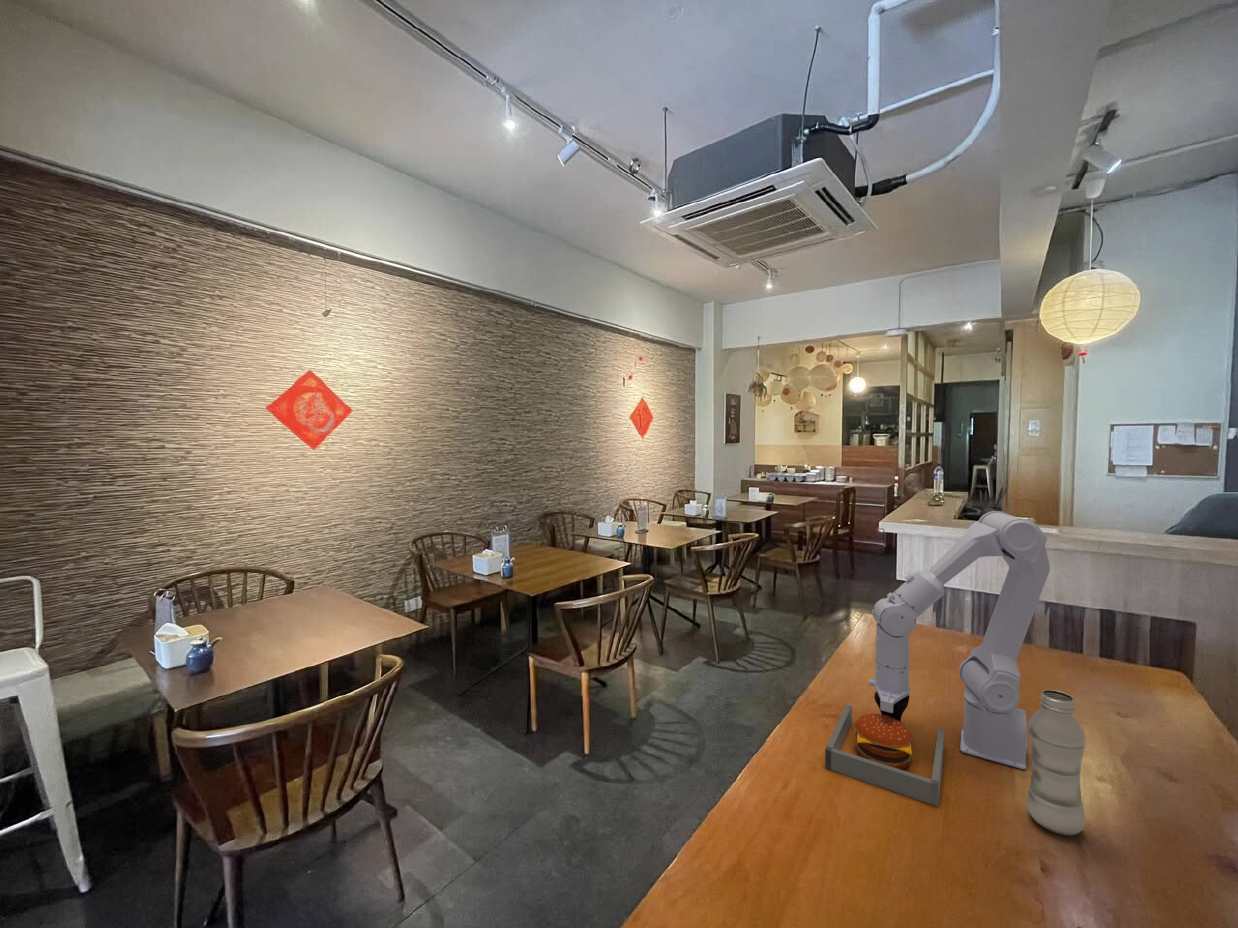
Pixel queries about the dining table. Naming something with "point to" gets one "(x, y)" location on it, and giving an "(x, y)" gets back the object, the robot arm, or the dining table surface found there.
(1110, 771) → the dining table surface
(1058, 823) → the plastic bottle
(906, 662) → the robot arm
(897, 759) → the hamburger
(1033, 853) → the dining table surface
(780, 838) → the dining table surface
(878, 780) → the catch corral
